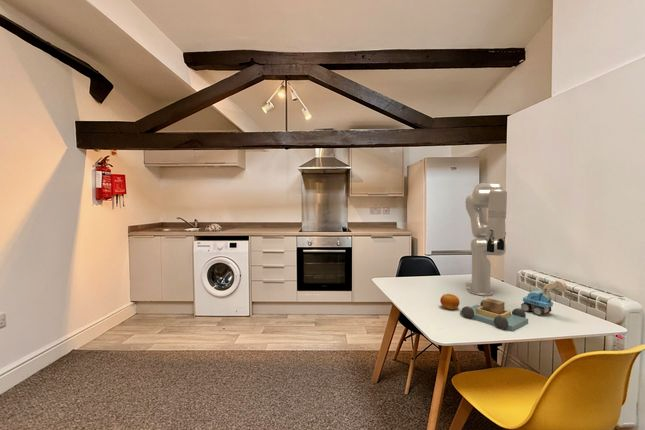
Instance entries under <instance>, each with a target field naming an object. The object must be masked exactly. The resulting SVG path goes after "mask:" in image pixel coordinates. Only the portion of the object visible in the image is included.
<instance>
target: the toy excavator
mask: <svg viewBox="0 0 645 430" xmlns="http://www.w3.org/2000/svg"><path fill="white" fill-rule="evenodd" d="M556 288H558V292H559V293H563V292H566V291H567V288H568V286H567V283H566V282H565V281H564V280H561V279H560V280H558V279H557V280H555V281H554V282H550V283H547V284H545V285H544V286H543V289H542V290H533V291H530V292H528V294H527V295H525V296H524V297H523V298H522V303H521V304H520V306H521V307H520V309H522V310H523V311H524V312H531V311H532V313H534V315H536V316H538V317H539V316H542V315H544V314H549V313H551V312H552V307H553V306H554V302H553V301H552V297H551V293H550V291H551V290H553V289H556Z"/></svg>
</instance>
